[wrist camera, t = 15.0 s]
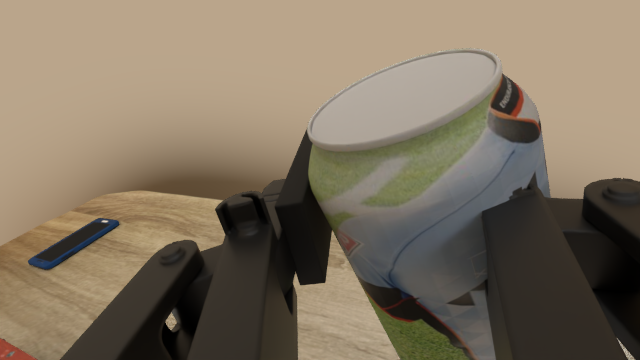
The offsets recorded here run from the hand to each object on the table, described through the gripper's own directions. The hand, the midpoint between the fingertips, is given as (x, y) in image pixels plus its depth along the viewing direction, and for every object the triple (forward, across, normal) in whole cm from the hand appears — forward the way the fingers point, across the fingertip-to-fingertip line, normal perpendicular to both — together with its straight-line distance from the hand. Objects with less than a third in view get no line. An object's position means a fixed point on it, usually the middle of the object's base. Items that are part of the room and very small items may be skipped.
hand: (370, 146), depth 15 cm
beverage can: (-4, +2, -8) cm, 9 cm away
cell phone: (+35, -57, -22) cm, 71 cm away
